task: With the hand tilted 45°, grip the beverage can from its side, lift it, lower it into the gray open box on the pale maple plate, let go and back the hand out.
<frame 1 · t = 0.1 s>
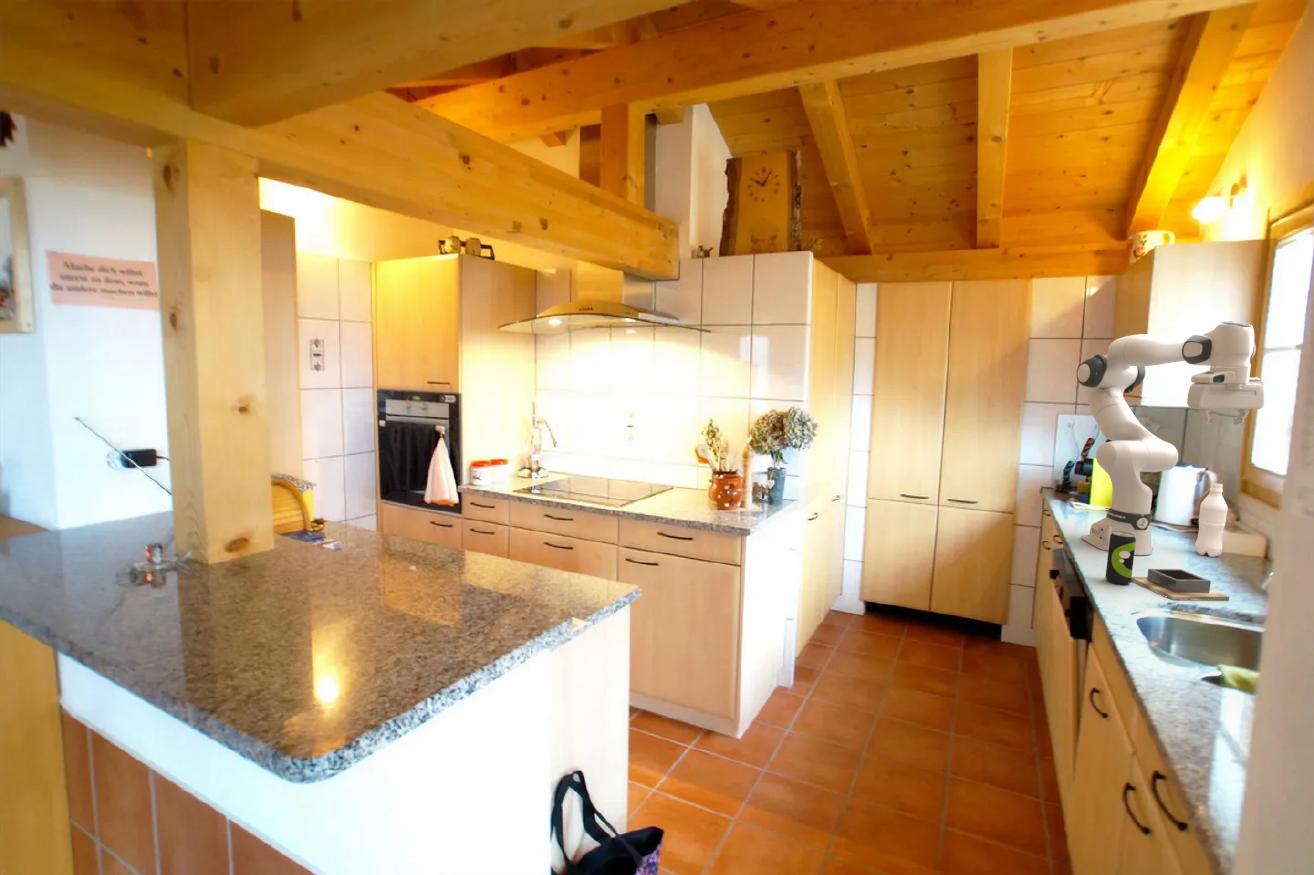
hand: (1222, 424, 186), 48 cm above the table, tool pointing down, fingers open, 8 cm apart
water bottle: (1207, 555, 218), on the table
beverage can: (1117, 582, 190), on the table
docking plate: (1176, 589, 184), on the table
gray open box: (1178, 580, 183), on the docking plate, point 3 cm above the table
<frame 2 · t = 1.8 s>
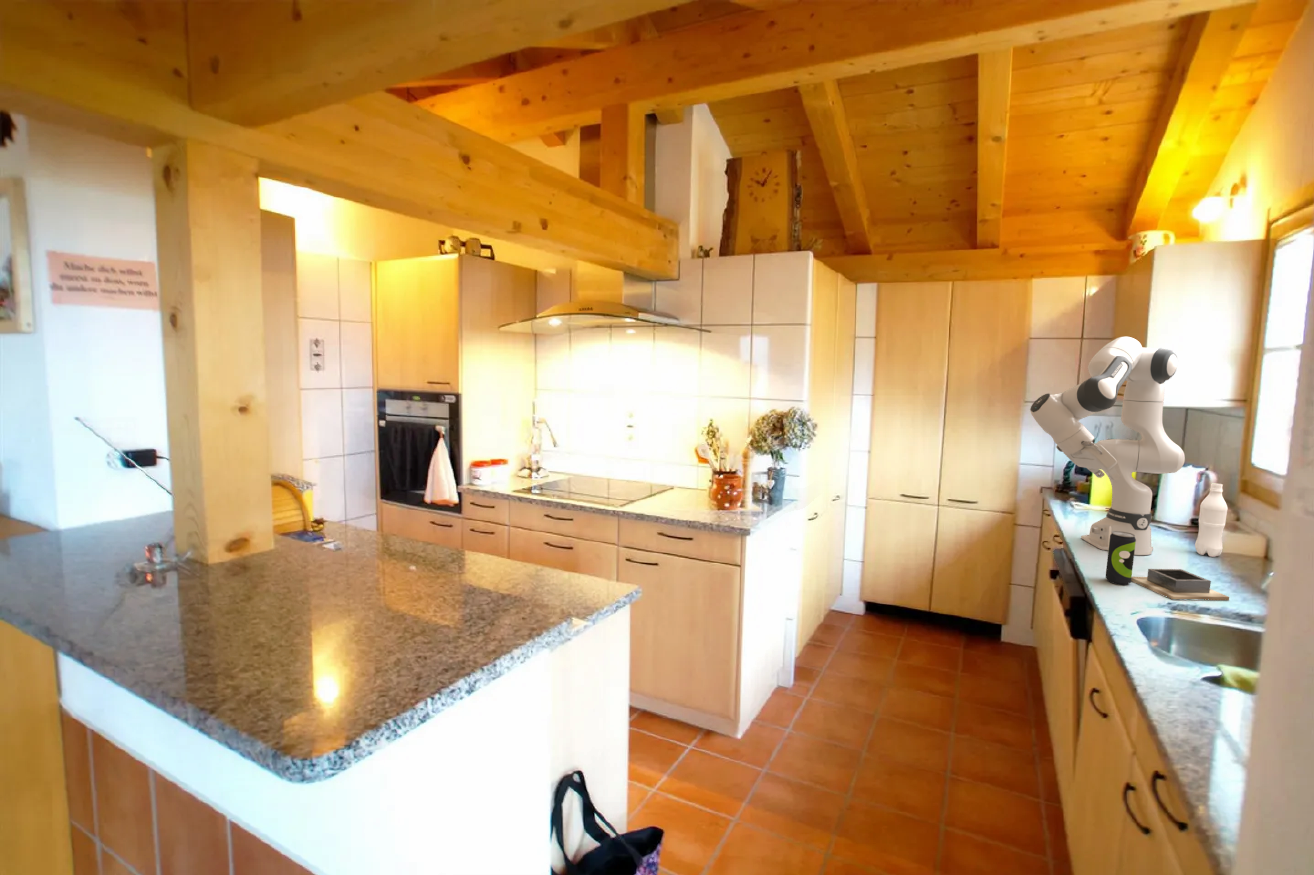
hand: (1109, 477, 187), 32 cm above the table, tool tilted 40°, fingers open, 8 cm apart
nothing on the table moved.
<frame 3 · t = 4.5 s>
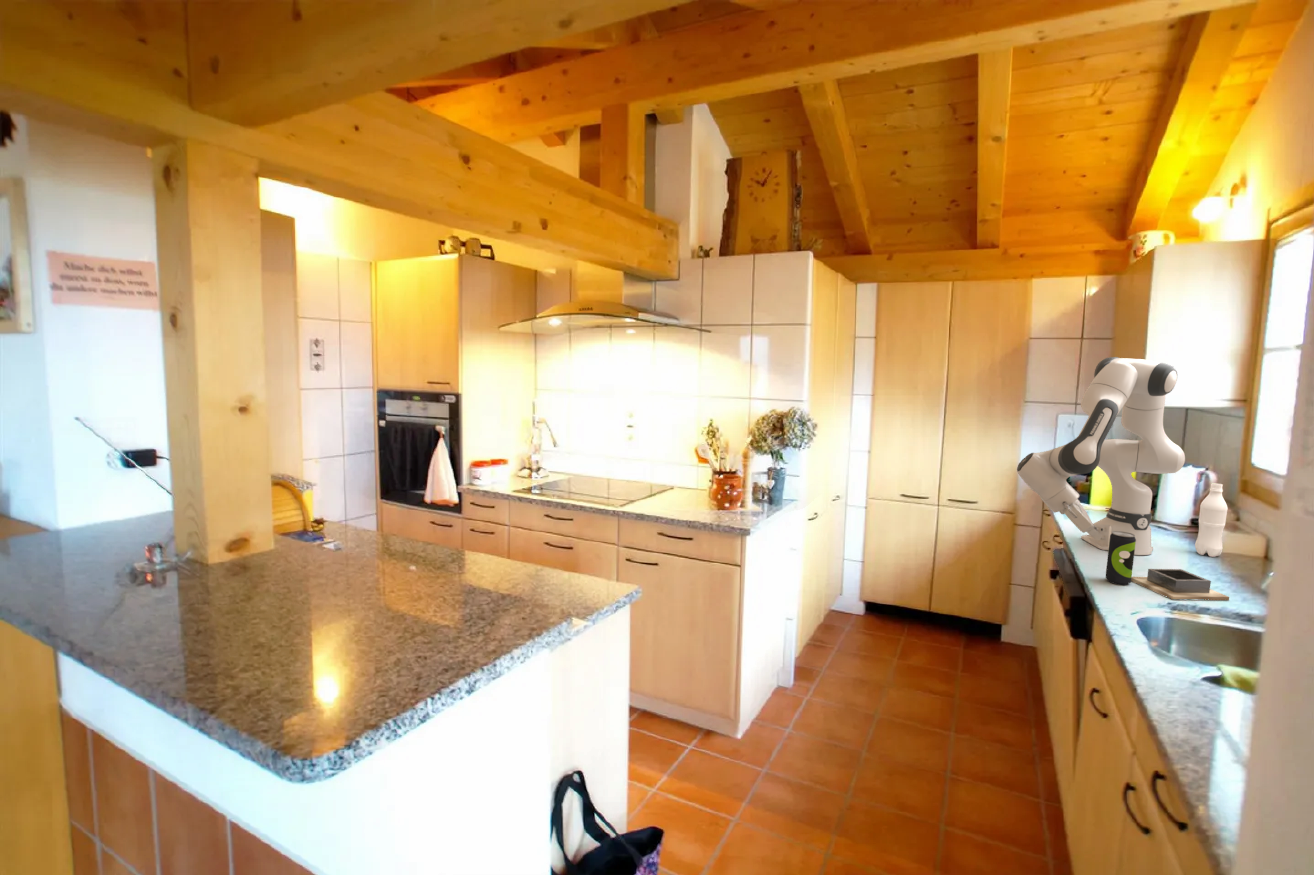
hand: (1097, 535, 191), 14 cm above the table, tool tilted 45°, fingers open, 8 cm apart
nothing on the table moved.
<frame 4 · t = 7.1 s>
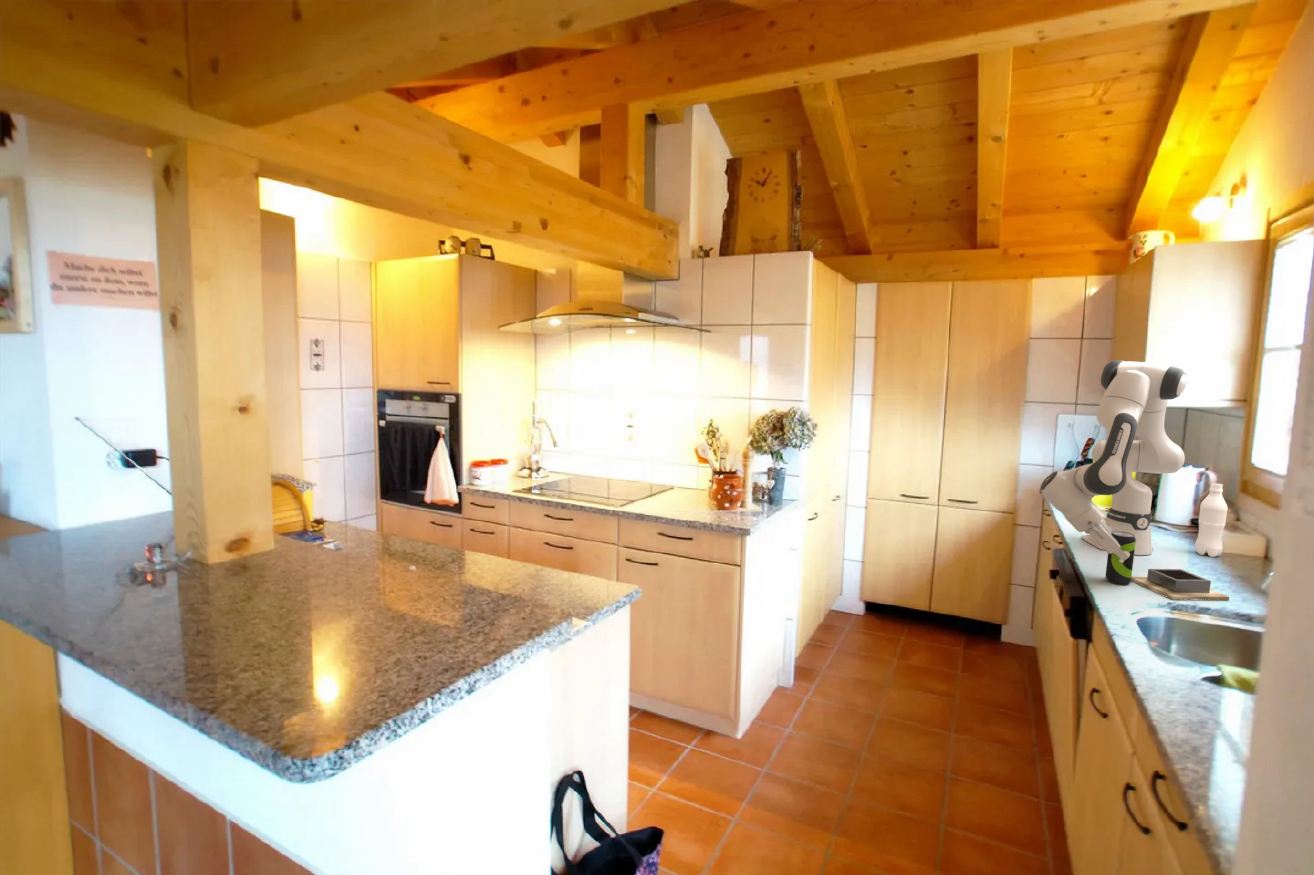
hand: (1123, 555, 188), 8 cm above the table, tool tilted 45°, fingers closed on beverage can, 6 cm apart
beverage can: (1117, 582, 190), on the table, touching gripper
everything else where it was.
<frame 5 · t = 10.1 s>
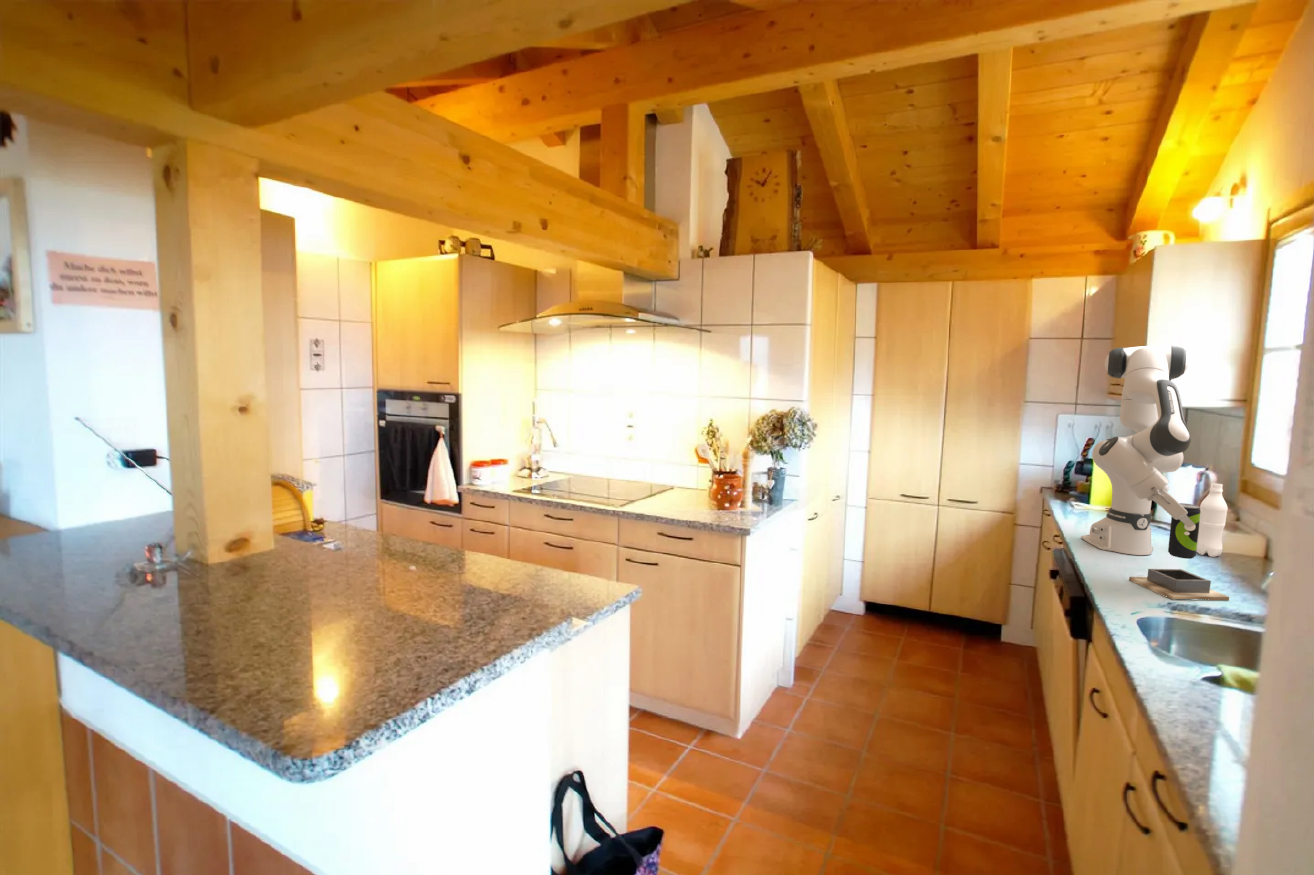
hand: (1187, 522, 181), 20 cm above the table, tool tilted 45°, fingers closed on beverage can, 6 cm apart
beverage can: (1181, 556, 183), point 10 cm above the table, touching gripper
everything else where it was.
when the fingers open (11 cm above the table, at t = 13.2 s): beverage can stays where it is, resting on docking plate.
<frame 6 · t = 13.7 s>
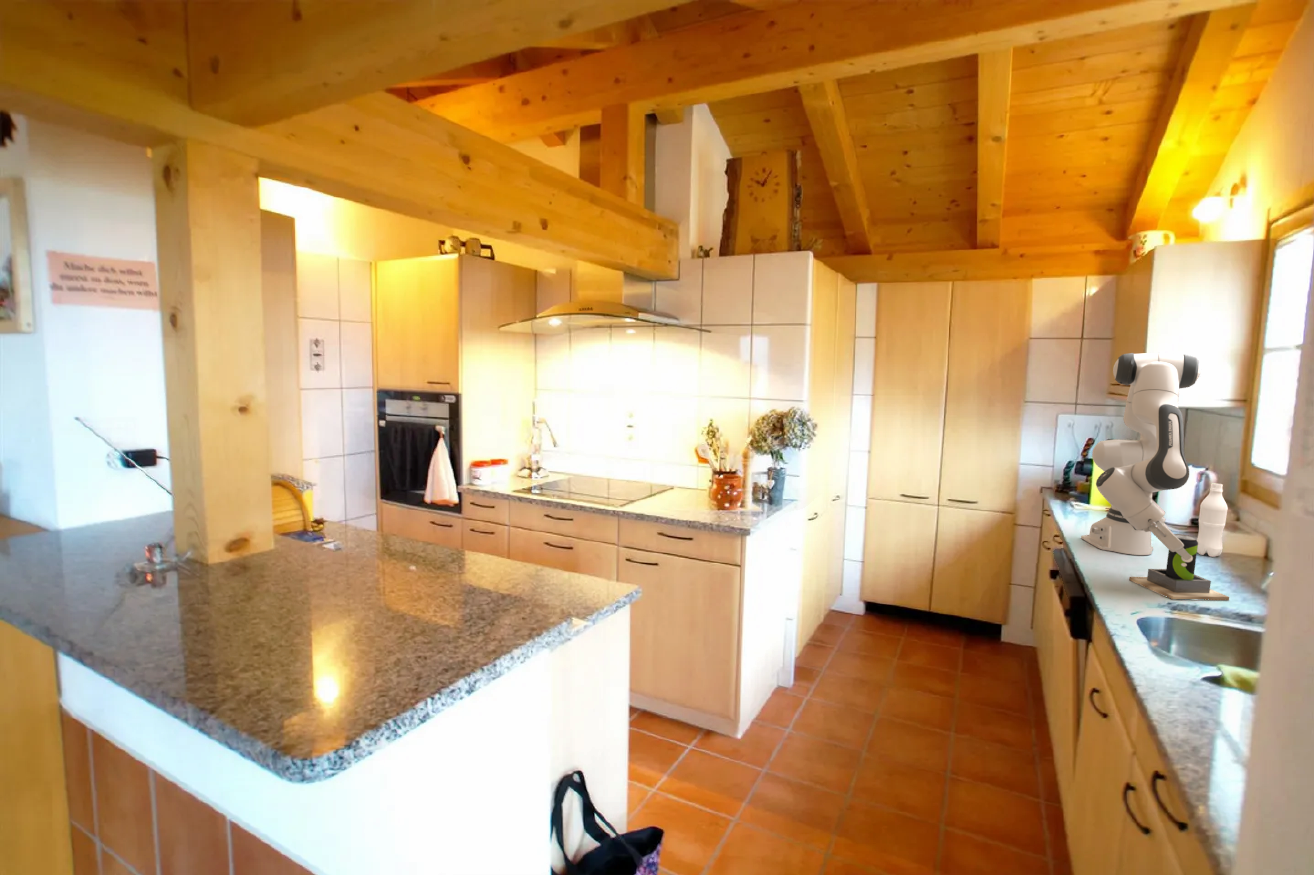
hand: (1184, 553, 182), 11 cm above the table, tool tilted 45°, fingers open, 8 cm apart
beverage can: (1178, 587, 184), point 1 cm above the table, touching docking plate
everything else where it was.
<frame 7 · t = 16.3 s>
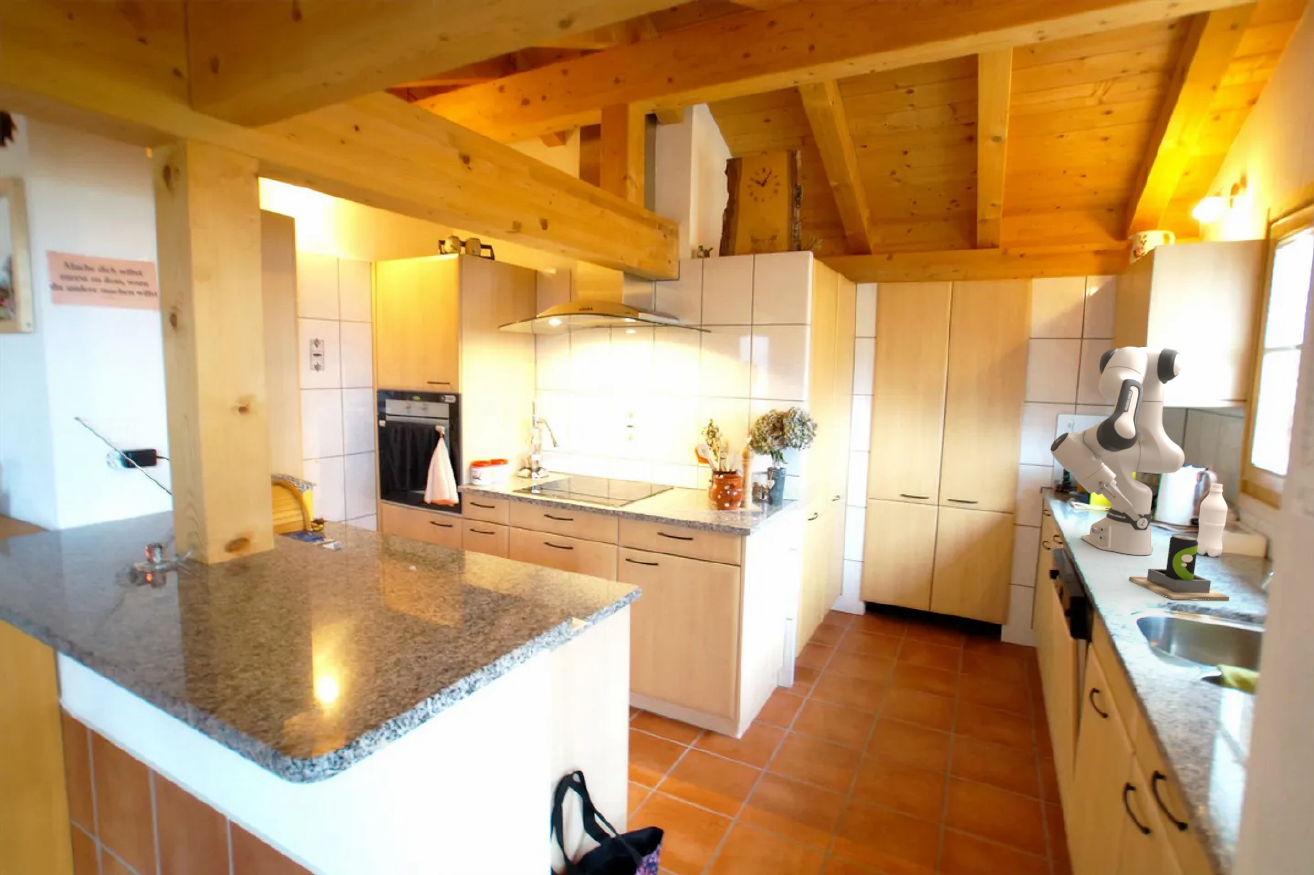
hand: (1134, 515, 187), 20 cm above the table, tool tilted 45°, fingers open, 8 cm apart
nothing on the table moved.
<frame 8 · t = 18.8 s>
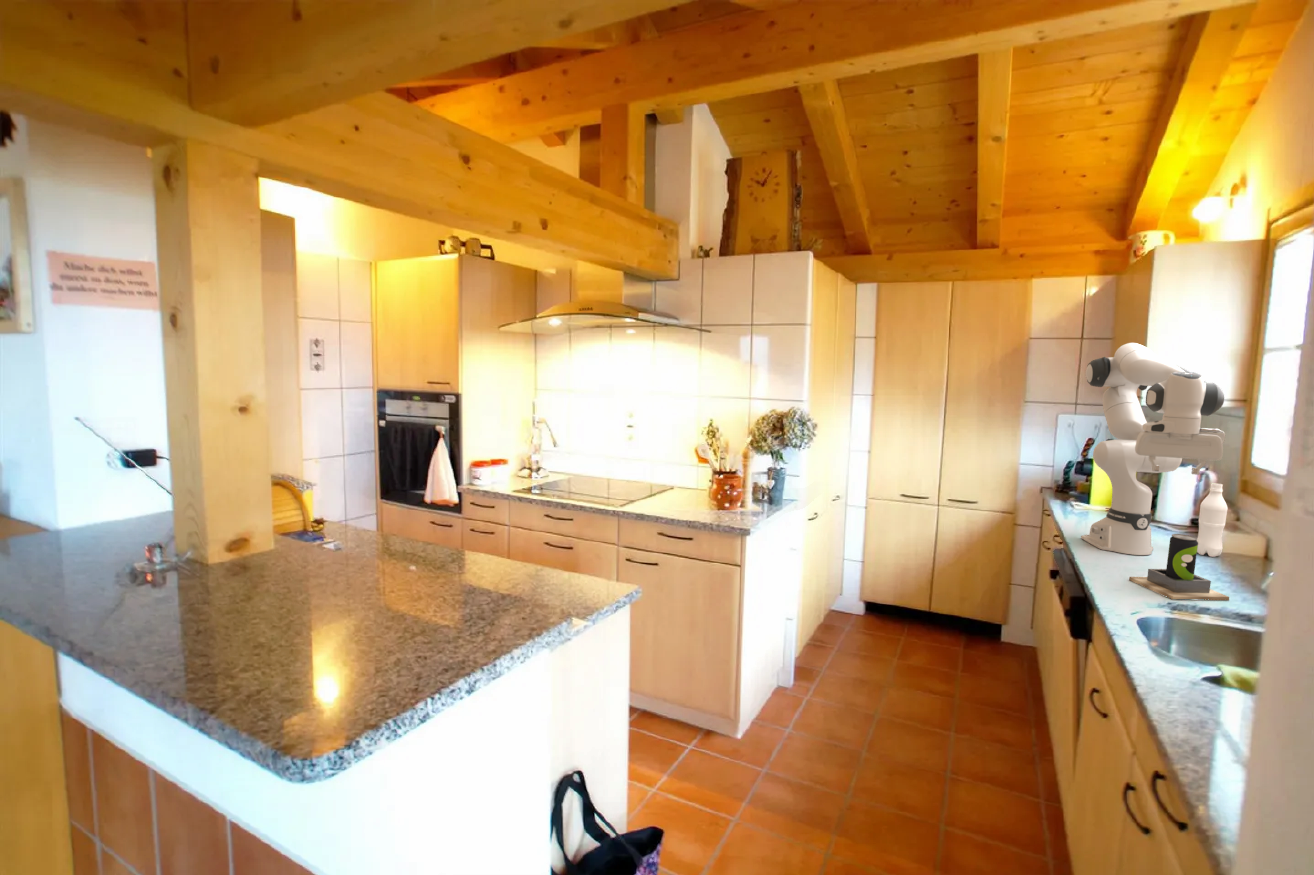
hand: (1174, 472, 189), 33 cm above the table, tool pointing down, fingers open, 8 cm apart
nothing on the table moved.
at the end: beverage can 0.1 cm off-centre on the gray open box, point 0.8 cm above the gray open box's base; beverage can tilted 0°; the gripper is holding nothing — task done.
